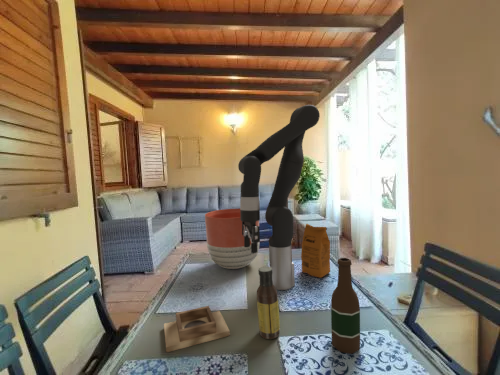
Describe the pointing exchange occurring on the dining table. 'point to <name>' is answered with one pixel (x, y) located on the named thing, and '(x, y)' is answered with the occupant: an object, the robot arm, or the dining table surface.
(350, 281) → the beer bottle
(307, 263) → the coffee package
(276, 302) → the sauce bottle
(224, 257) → the planter
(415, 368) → the dining table surface
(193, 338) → the socket board
